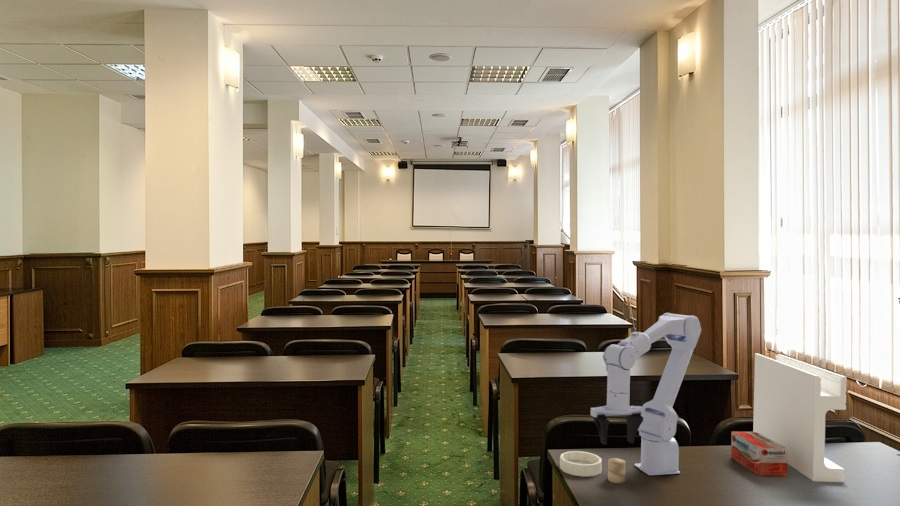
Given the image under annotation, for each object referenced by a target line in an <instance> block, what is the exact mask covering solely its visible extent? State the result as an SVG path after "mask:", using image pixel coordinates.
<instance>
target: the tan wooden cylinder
mask: <svg viewBox="0 0 900 506" xmlns="http://www.w3.org/2000/svg"><path fill="white" fill-rule="evenodd" d="M607 481H609V482H610V483H614V484H625V482H626V460H624V459H622V458H617V457H615V458H613V457H612V458H611V457H610V458H608V459H607Z"/></svg>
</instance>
